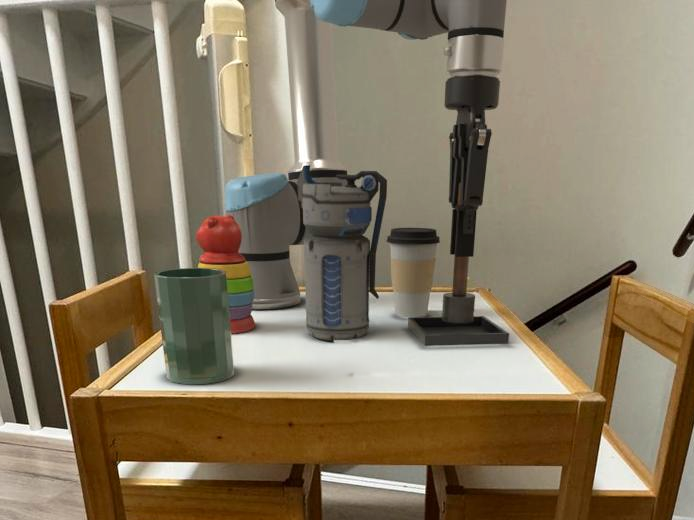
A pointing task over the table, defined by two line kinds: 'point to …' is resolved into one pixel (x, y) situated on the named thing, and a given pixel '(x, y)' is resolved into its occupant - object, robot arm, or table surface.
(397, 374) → the table surface
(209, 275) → the tumbler
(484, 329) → the tray
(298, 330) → the table surface
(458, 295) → the brush
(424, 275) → the coffee cup
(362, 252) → the grey grenade canister
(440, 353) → the table surface
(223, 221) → the stacking bear
